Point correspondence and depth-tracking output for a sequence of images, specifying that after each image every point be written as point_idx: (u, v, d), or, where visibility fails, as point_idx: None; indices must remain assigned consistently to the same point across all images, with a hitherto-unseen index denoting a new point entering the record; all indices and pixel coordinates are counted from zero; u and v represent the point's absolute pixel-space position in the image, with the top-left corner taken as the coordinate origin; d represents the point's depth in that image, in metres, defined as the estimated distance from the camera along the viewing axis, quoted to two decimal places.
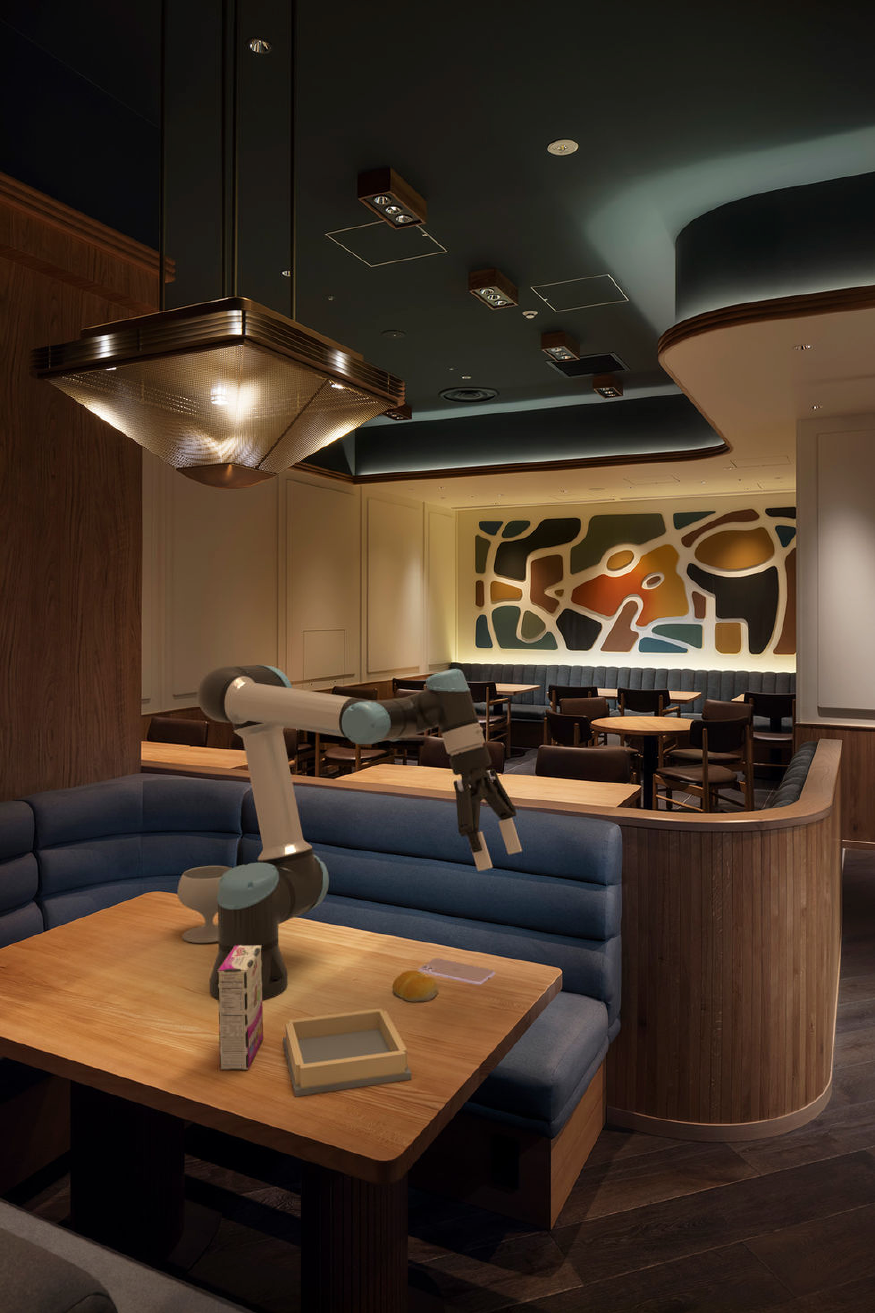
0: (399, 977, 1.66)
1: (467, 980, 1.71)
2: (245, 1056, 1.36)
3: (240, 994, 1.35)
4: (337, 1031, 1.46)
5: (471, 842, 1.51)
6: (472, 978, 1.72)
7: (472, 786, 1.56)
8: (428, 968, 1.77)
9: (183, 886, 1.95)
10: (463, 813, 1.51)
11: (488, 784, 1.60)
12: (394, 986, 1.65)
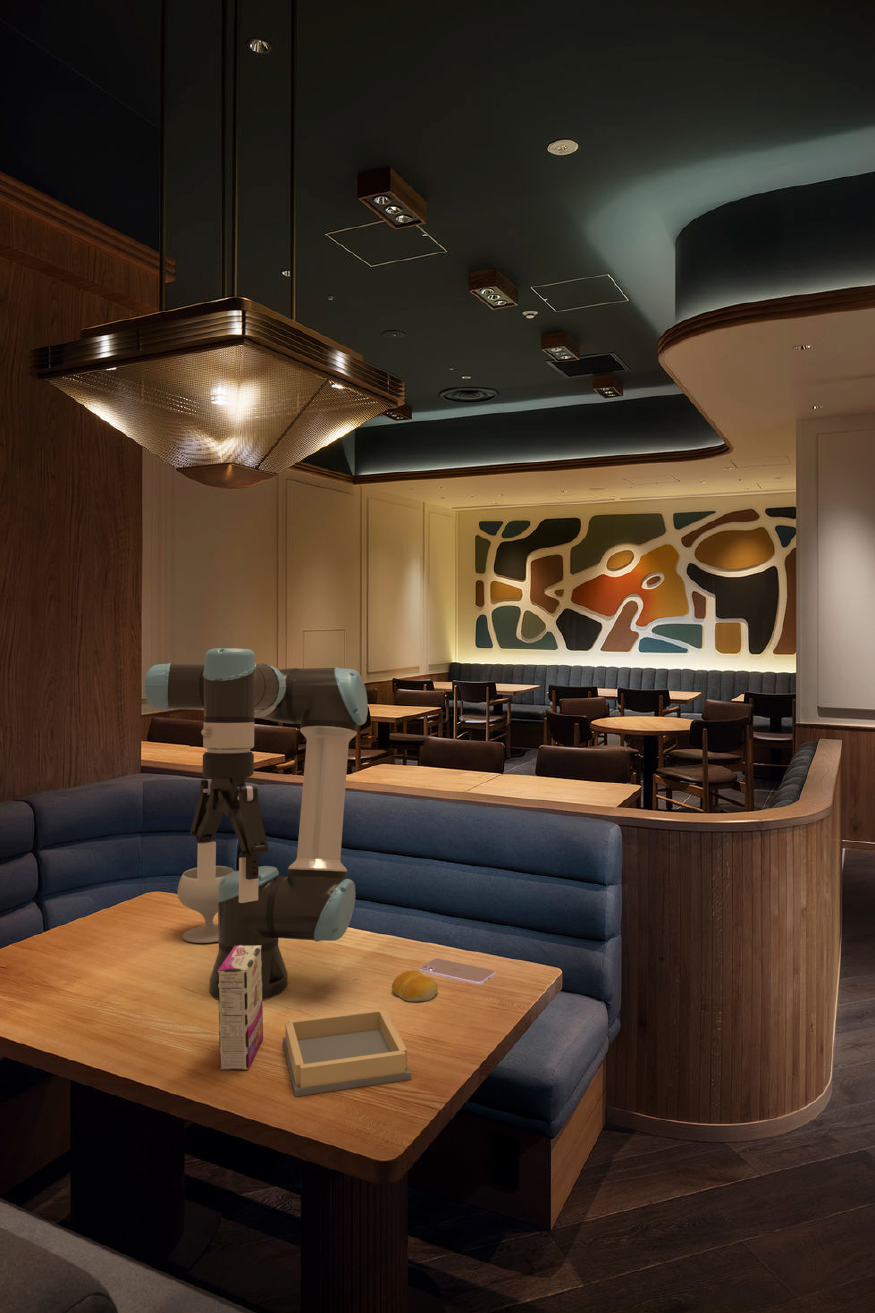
0: (398, 977, 1.66)
1: (468, 980, 1.71)
2: (245, 1056, 1.36)
3: (240, 994, 1.35)
4: (337, 1031, 1.46)
5: None
6: (473, 978, 1.72)
7: None
8: (428, 968, 1.77)
9: (183, 886, 1.95)
10: None
11: None
12: (394, 986, 1.65)
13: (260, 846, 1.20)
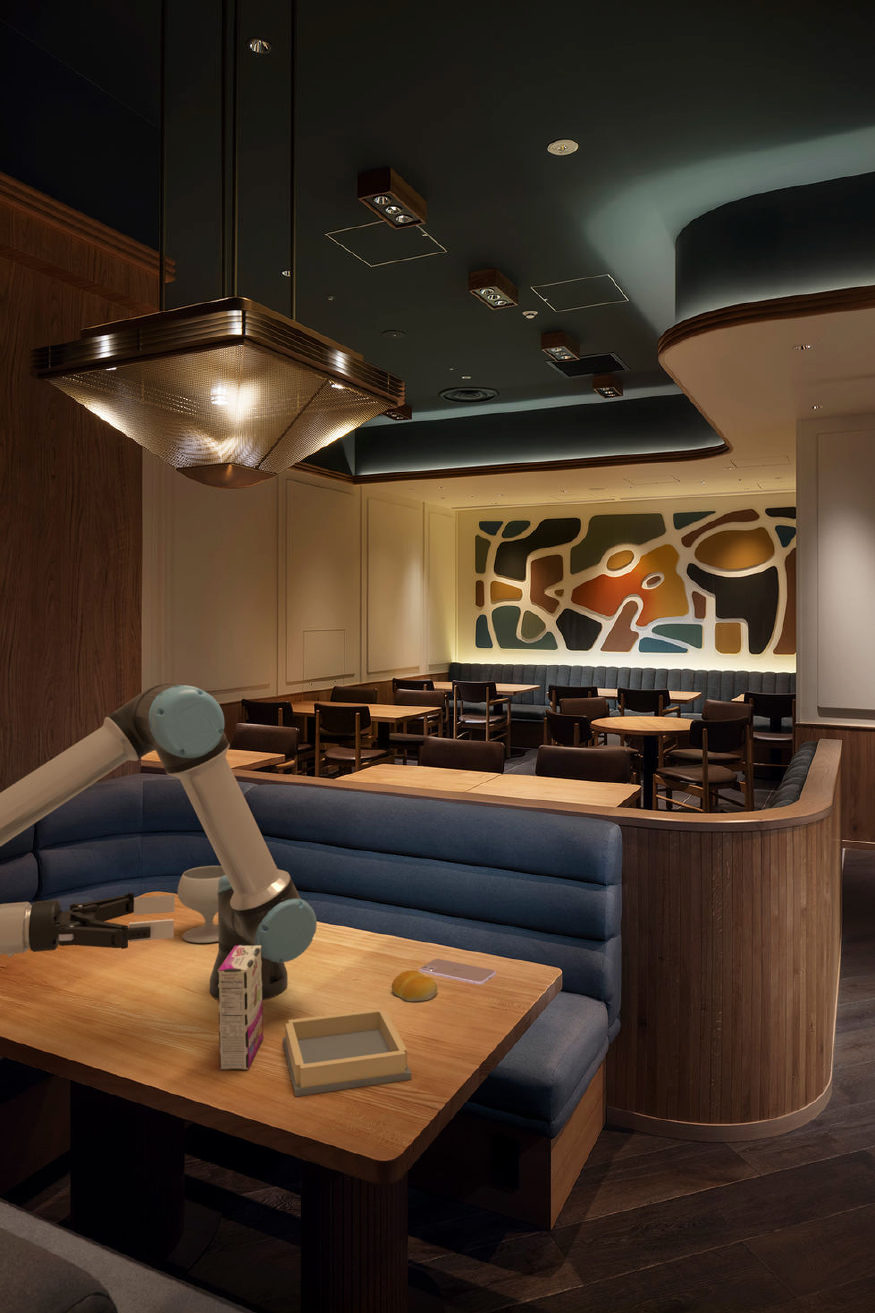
0: (398, 977, 1.66)
1: (468, 980, 1.71)
2: (245, 1056, 1.36)
3: (240, 994, 1.35)
4: (337, 1031, 1.46)
5: None
6: (473, 978, 1.72)
7: None
8: (429, 968, 1.77)
9: (183, 886, 1.95)
10: None
11: None
12: (393, 986, 1.65)
13: (115, 939, 1.26)
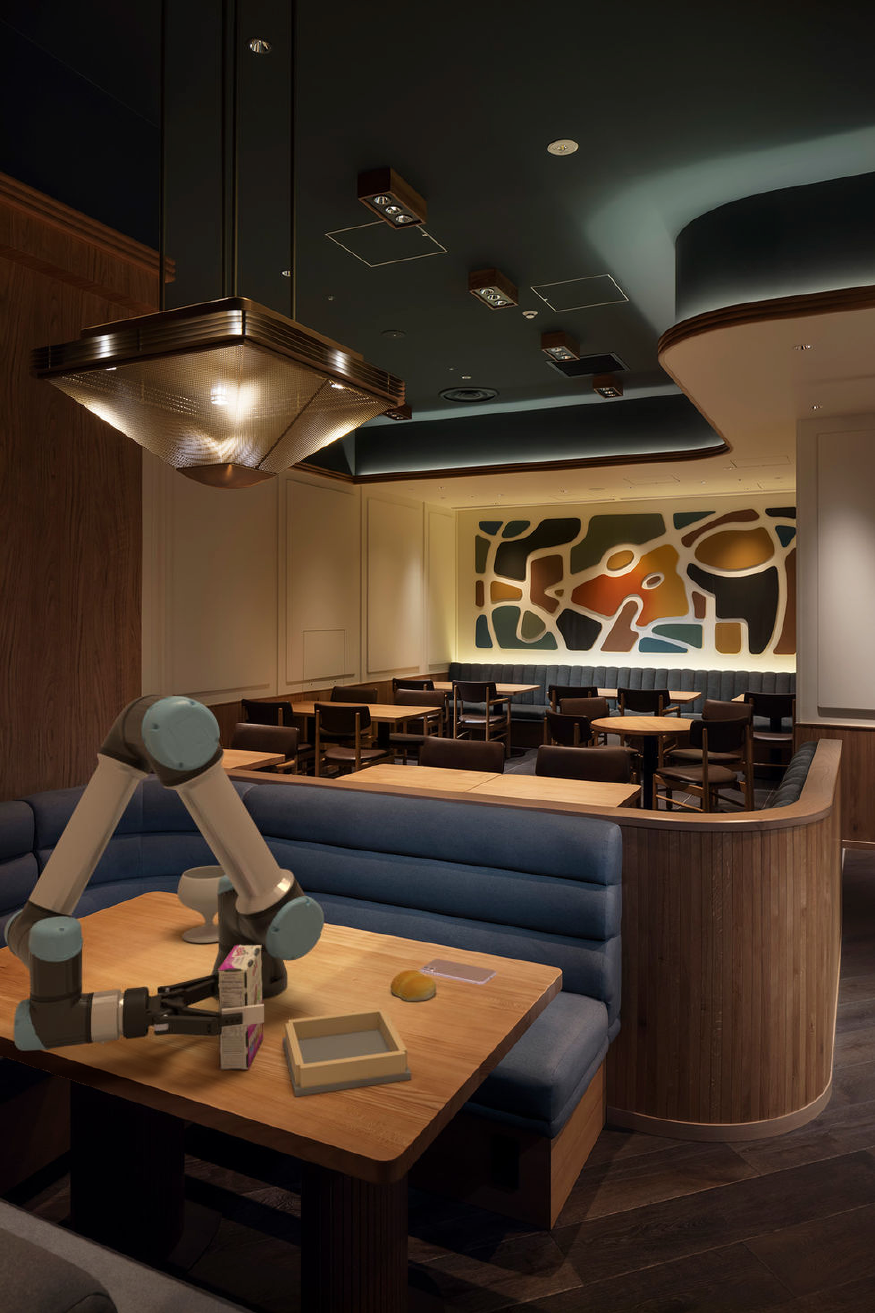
0: (397, 976, 1.66)
1: (469, 980, 1.71)
2: (245, 1056, 1.36)
3: (240, 994, 1.35)
4: (337, 1031, 1.46)
5: None
6: (474, 978, 1.72)
7: None
8: (429, 968, 1.77)
9: (183, 886, 1.95)
10: None
11: None
12: (392, 986, 1.65)
13: (210, 1027, 1.31)
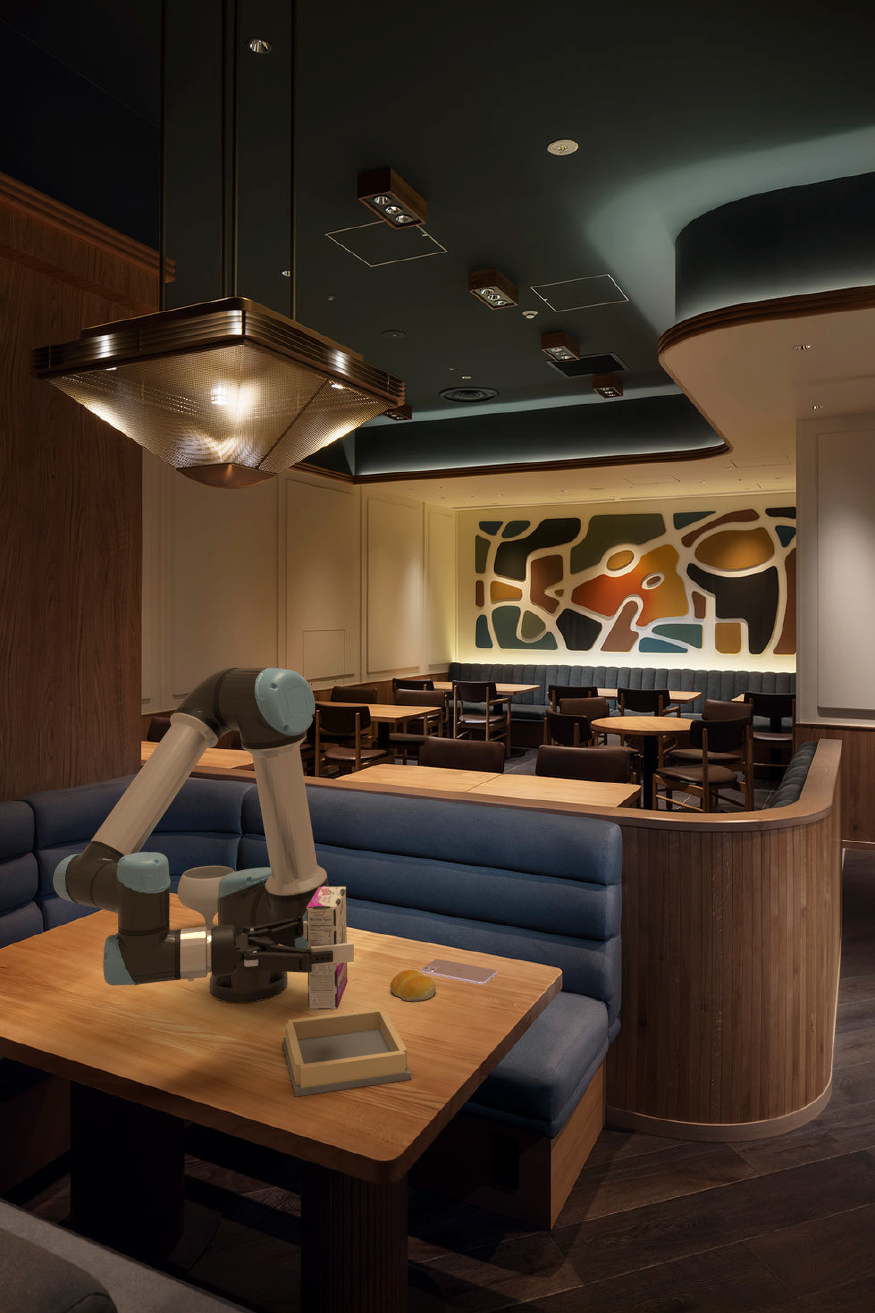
0: (396, 976, 1.66)
1: (470, 980, 1.71)
2: (334, 995, 1.32)
3: (329, 932, 1.32)
4: (337, 1031, 1.46)
5: None
6: (475, 978, 1.72)
7: None
8: (430, 969, 1.77)
9: (183, 886, 1.95)
10: None
11: None
12: (392, 986, 1.65)
13: (302, 964, 1.28)
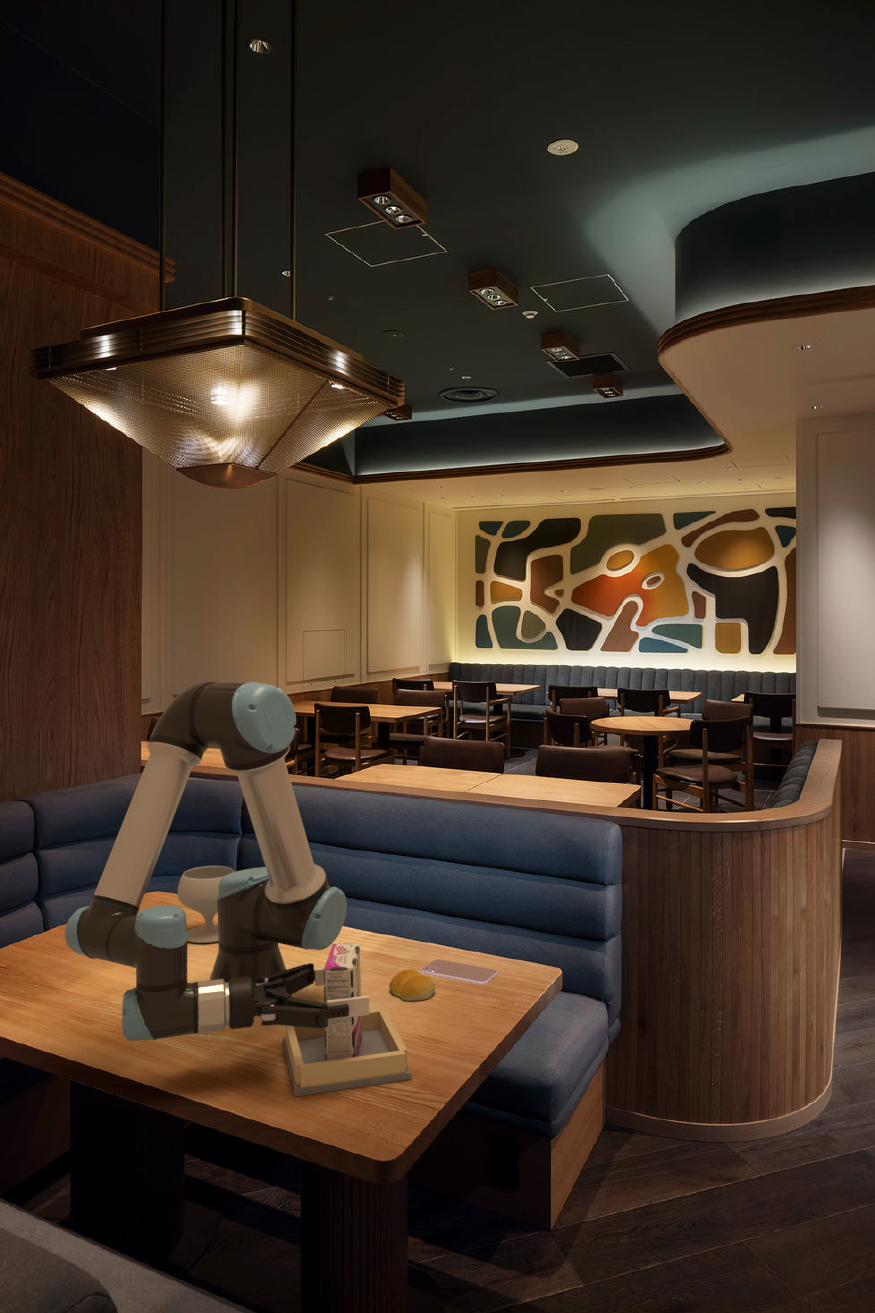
0: (396, 976, 1.66)
1: (471, 980, 1.71)
2: (352, 1056, 1.33)
3: (346, 993, 1.33)
4: None
5: None
6: (476, 978, 1.72)
7: None
8: (430, 969, 1.77)
9: (183, 886, 1.95)
10: None
11: None
12: (391, 986, 1.65)
13: (318, 1019, 1.28)
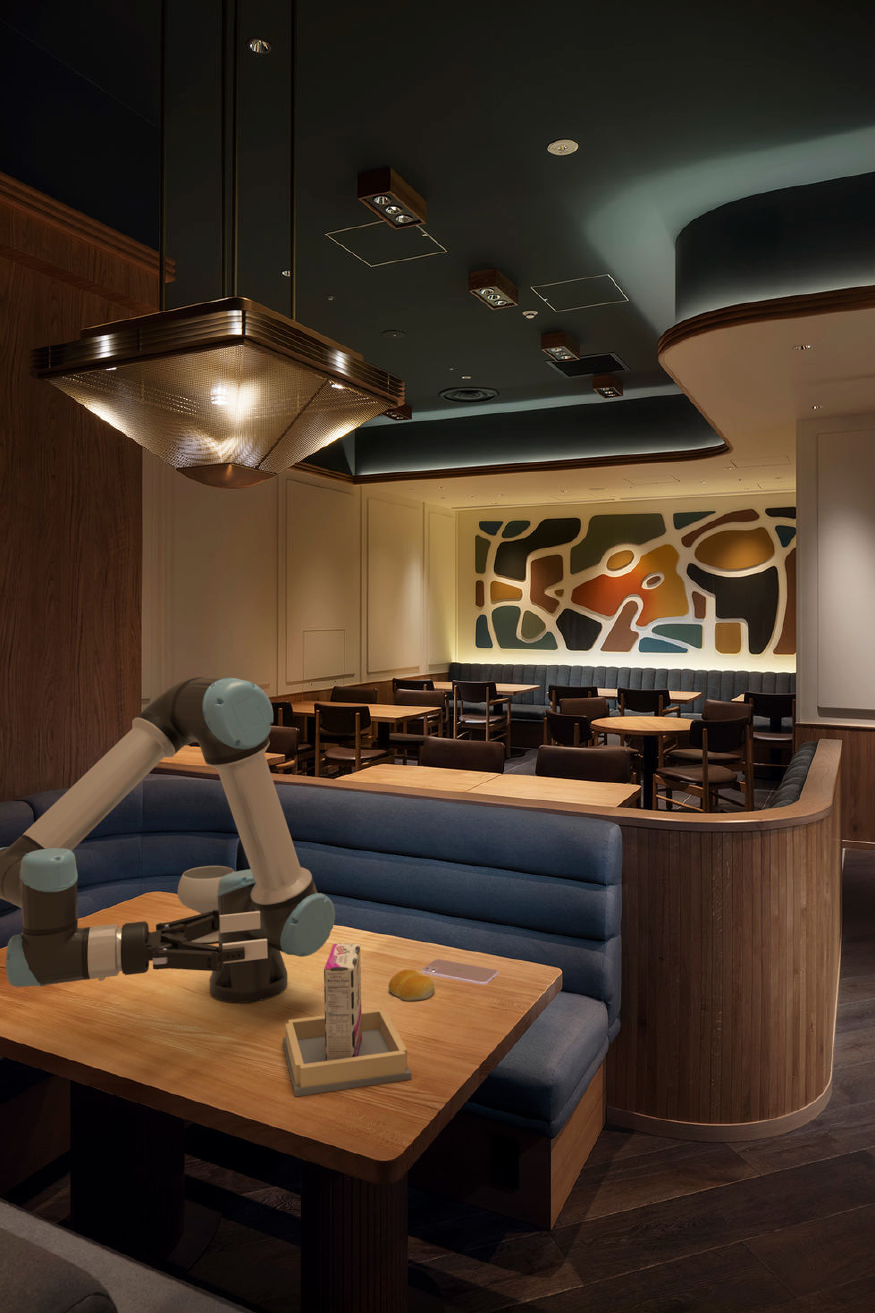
0: (395, 976, 1.67)
1: (472, 980, 1.71)
2: (352, 1056, 1.33)
3: (347, 993, 1.33)
4: None
5: None
6: (477, 978, 1.72)
7: None
8: (431, 969, 1.77)
9: (183, 886, 1.95)
10: None
11: None
12: (391, 986, 1.65)
13: (211, 962, 1.23)
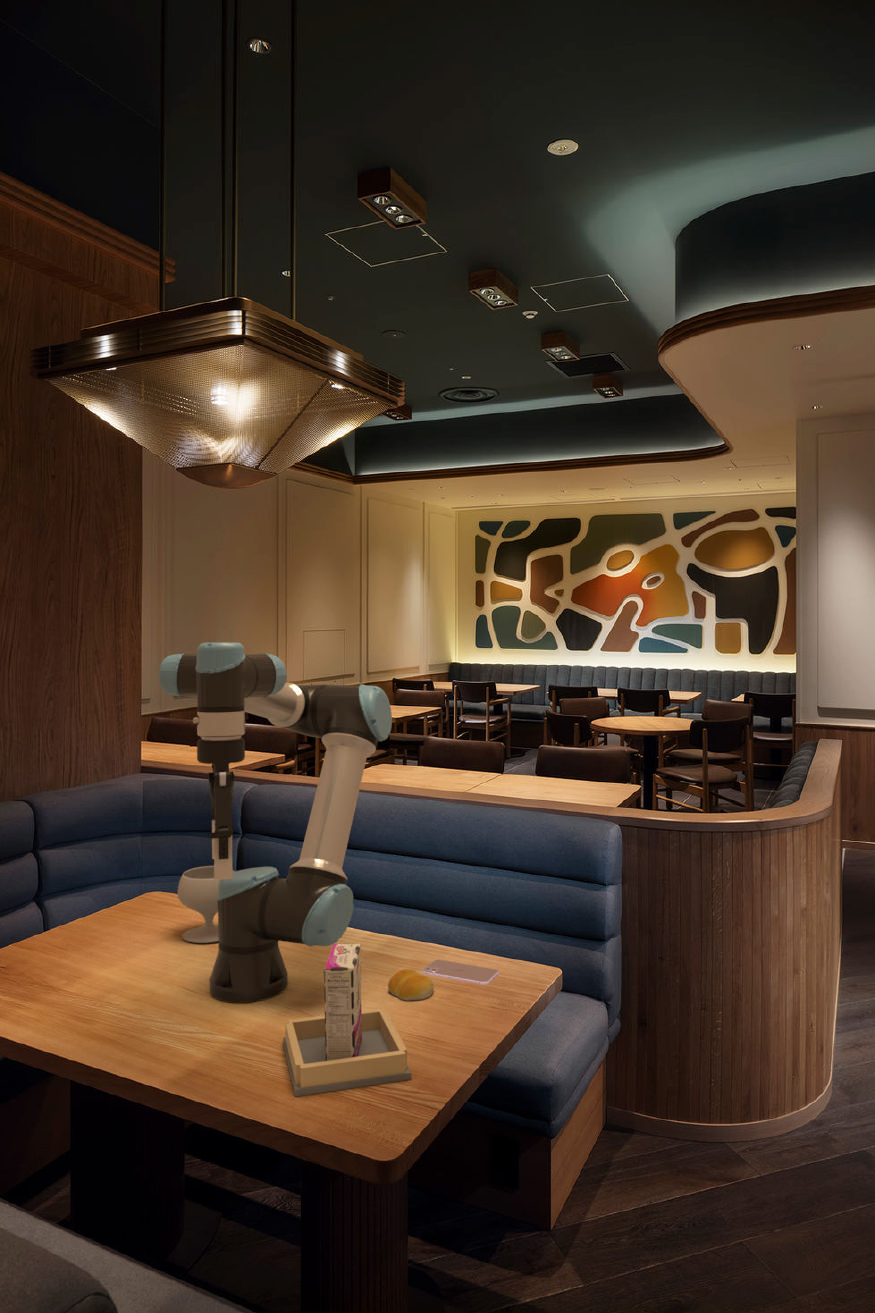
0: (394, 976, 1.67)
1: (473, 980, 1.71)
2: (352, 1056, 1.33)
3: (347, 993, 1.33)
4: None
5: None
6: (478, 978, 1.72)
7: None
8: (431, 969, 1.76)
9: (183, 886, 1.95)
10: None
11: None
12: (390, 985, 1.65)
13: (224, 829, 1.28)
